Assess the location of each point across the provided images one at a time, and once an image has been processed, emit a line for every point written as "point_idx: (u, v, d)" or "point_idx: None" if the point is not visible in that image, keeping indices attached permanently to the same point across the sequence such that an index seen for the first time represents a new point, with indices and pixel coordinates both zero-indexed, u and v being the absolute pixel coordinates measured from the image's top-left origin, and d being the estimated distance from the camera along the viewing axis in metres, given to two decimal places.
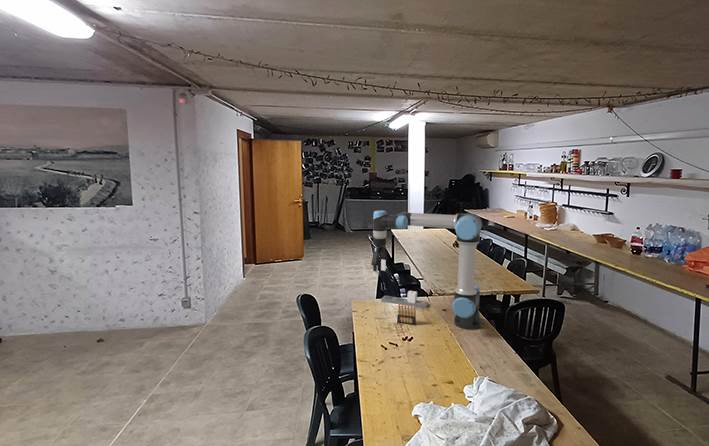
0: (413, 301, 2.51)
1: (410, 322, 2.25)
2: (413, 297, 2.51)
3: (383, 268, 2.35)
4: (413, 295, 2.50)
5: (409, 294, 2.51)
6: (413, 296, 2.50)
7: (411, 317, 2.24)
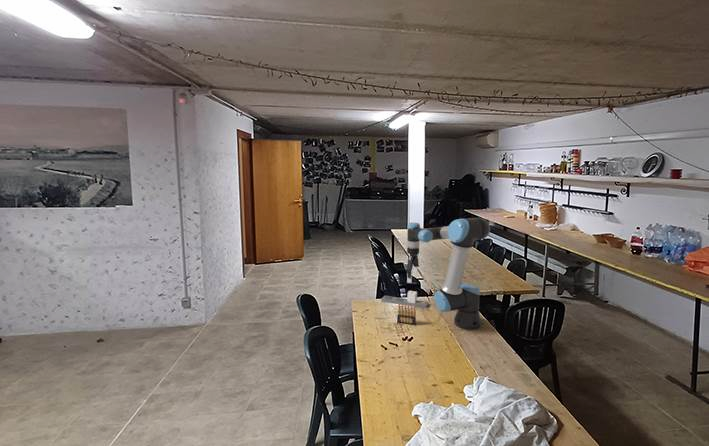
0: (413, 301, 2.51)
1: (410, 322, 2.25)
2: (413, 297, 2.51)
3: (415, 275, 2.57)
4: (413, 295, 2.50)
5: (409, 294, 2.51)
6: (413, 296, 2.50)
7: (411, 317, 2.24)
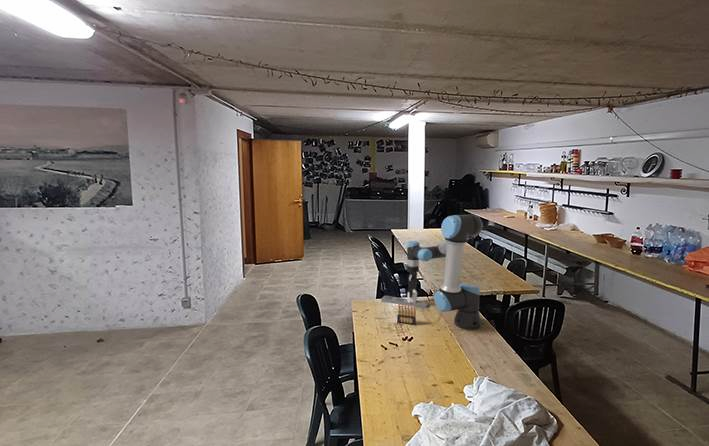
0: (413, 301, 2.51)
1: (410, 322, 2.25)
2: (413, 297, 2.51)
3: None
4: (413, 295, 2.50)
5: None
6: (413, 296, 2.50)
7: (411, 317, 2.24)
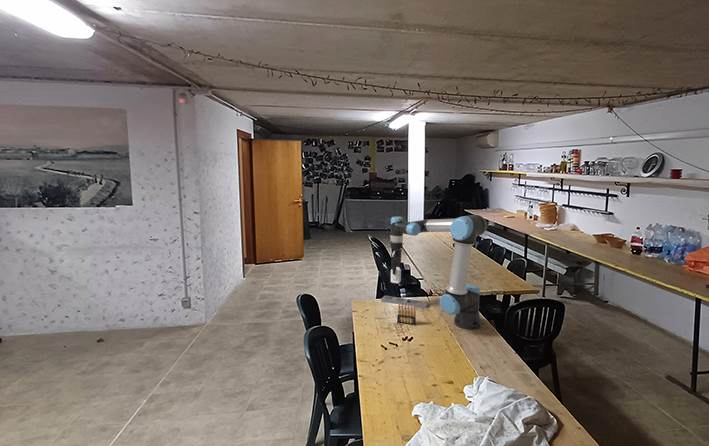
0: None
1: (410, 322, 2.25)
2: None
3: None
4: None
5: None
6: None
7: (411, 317, 2.24)
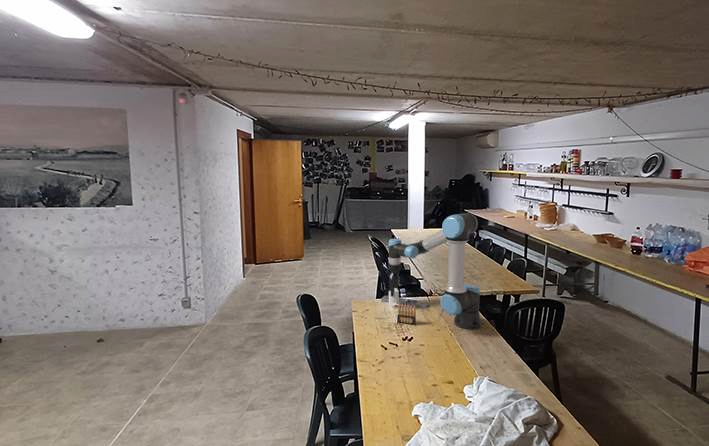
0: None
1: (410, 322, 2.25)
2: None
3: None
4: None
5: None
6: None
7: (411, 317, 2.24)
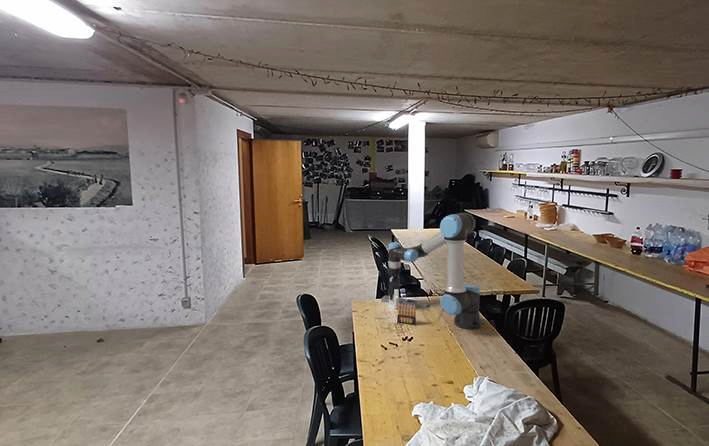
0: (395, 306, 2.46)
1: (410, 322, 2.25)
2: (395, 302, 2.45)
3: None
4: (394, 300, 2.45)
5: None
6: (395, 301, 2.45)
7: (411, 317, 2.24)
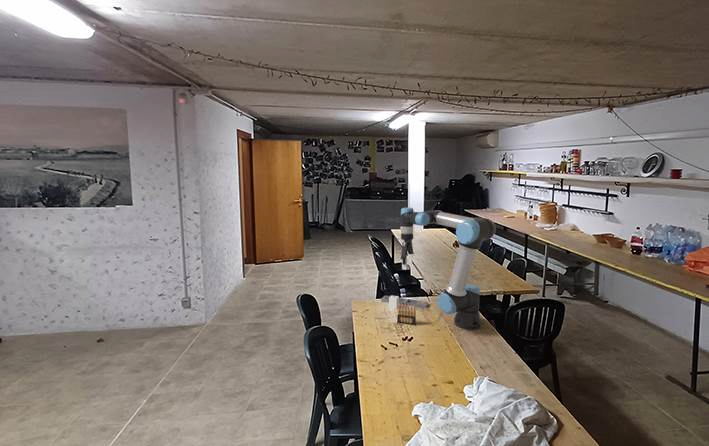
0: (395, 306, 2.46)
1: (410, 322, 2.25)
2: (395, 302, 2.45)
3: (410, 262, 2.49)
4: (394, 300, 2.45)
5: (390, 298, 2.46)
6: (395, 301, 2.45)
7: (411, 317, 2.24)
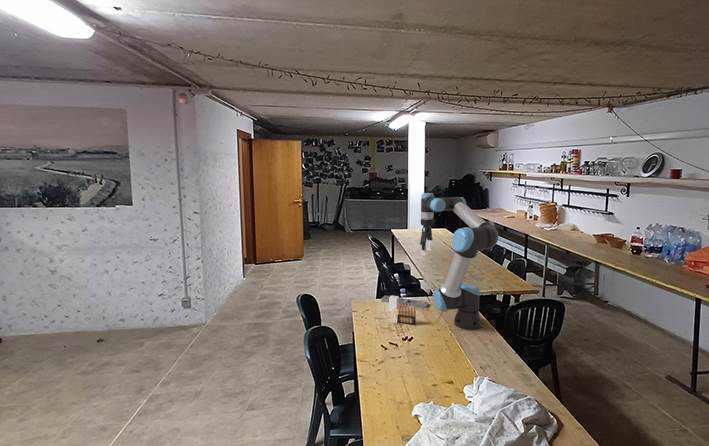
0: (395, 306, 2.46)
1: (410, 322, 2.25)
2: (395, 302, 2.45)
3: (428, 248, 2.48)
4: (394, 300, 2.45)
5: (390, 298, 2.46)
6: (395, 301, 2.45)
7: (411, 317, 2.24)
